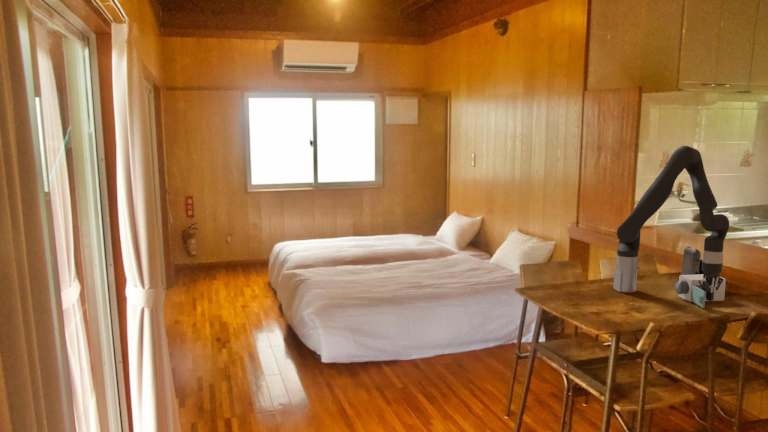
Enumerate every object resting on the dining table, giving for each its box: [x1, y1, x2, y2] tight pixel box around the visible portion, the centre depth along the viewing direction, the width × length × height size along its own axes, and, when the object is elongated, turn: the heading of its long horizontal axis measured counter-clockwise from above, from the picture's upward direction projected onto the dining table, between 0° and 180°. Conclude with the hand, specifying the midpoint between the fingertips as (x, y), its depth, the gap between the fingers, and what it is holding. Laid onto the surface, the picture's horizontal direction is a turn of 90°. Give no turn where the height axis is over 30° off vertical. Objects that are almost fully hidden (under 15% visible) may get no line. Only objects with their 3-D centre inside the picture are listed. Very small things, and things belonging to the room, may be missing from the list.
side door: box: [691, 285, 706, 309], centre depth 243 cm, size 11×2×7 cm, turn 174°
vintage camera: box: [680, 246, 704, 275], centre depth 270 cm, size 10×15×20 cm, turn 89°
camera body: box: [674, 274, 727, 303], centre depth 253 cm, size 19×9×11 cm, turn 95°
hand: (709, 300), depth 239 cm, fingers closed
